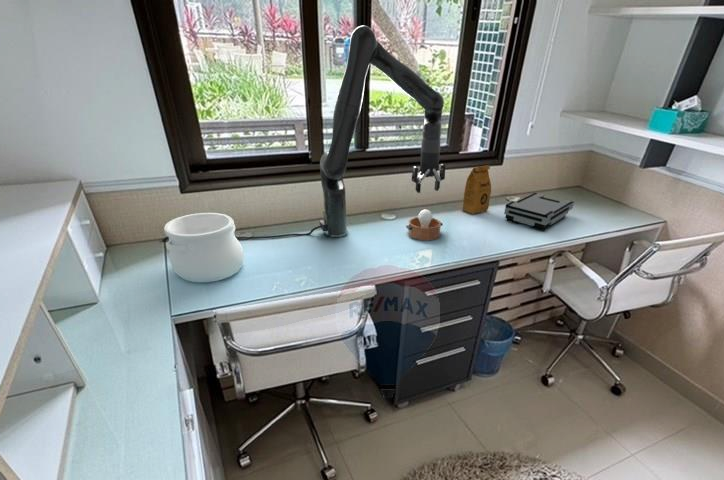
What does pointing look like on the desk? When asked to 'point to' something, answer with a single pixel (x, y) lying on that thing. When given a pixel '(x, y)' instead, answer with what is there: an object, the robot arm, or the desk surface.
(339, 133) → the robot arm
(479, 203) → the coffee package
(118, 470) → the desk surface
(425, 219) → the lightbulb
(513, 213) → the game console
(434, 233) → the copper pot
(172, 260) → the pot
